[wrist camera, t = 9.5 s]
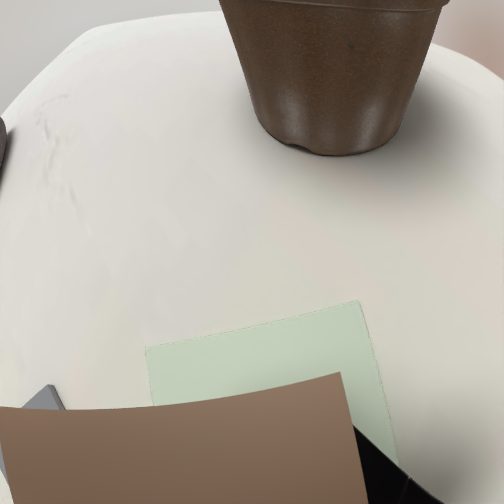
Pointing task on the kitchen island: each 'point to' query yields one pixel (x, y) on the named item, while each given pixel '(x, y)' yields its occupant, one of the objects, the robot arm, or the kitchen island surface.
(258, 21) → the plant pot
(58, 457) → the walnut post
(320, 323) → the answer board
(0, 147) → the perforated stone tool
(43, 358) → the kitchen island surface
